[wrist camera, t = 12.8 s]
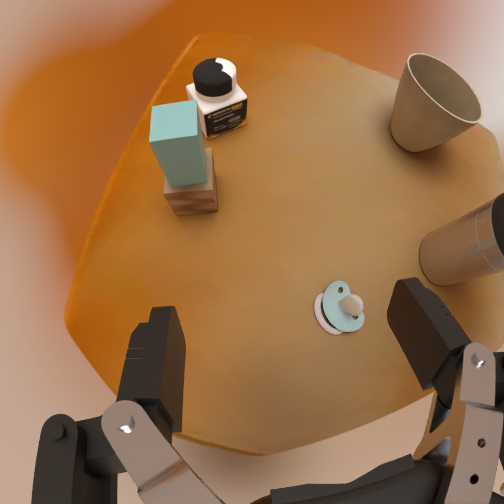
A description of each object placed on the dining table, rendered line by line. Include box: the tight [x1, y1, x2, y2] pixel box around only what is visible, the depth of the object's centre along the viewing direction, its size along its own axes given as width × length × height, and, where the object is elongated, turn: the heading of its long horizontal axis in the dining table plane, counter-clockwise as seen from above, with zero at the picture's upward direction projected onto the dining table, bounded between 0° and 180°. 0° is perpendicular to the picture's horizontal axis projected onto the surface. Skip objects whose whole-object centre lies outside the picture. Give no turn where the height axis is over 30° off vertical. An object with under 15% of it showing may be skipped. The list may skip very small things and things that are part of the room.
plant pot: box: [391, 53, 483, 152], centre depth 40 cm, size 15×15×16 cm
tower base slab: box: [172, 169, 218, 216], centre depth 41 cm, size 6×6×4 cm
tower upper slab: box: [163, 148, 215, 206], centre depth 37 cm, size 6×6×4 cm
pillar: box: [149, 100, 207, 187], centre depth 30 cm, size 4×4×10 cm
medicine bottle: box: [186, 58, 247, 140], centre depth 40 cm, size 7×7×12 cm
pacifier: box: [314, 281, 364, 335], centre depth 37 cm, size 7×6×6 cm
